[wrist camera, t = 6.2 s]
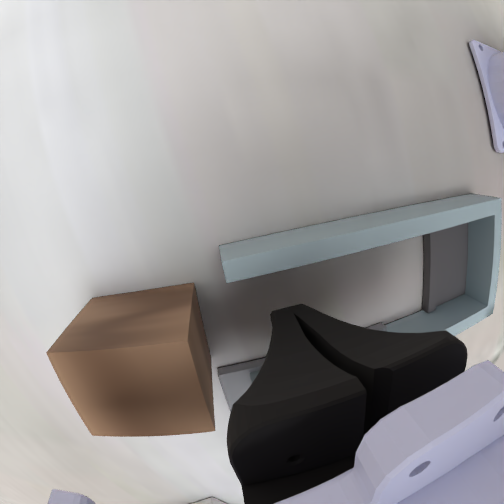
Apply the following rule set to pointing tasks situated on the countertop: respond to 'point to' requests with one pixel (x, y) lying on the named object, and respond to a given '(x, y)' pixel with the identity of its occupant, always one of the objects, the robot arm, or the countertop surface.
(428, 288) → the u-shaped bracket
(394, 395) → the robot arm
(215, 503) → the small box
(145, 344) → the block
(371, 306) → the countertop surface
